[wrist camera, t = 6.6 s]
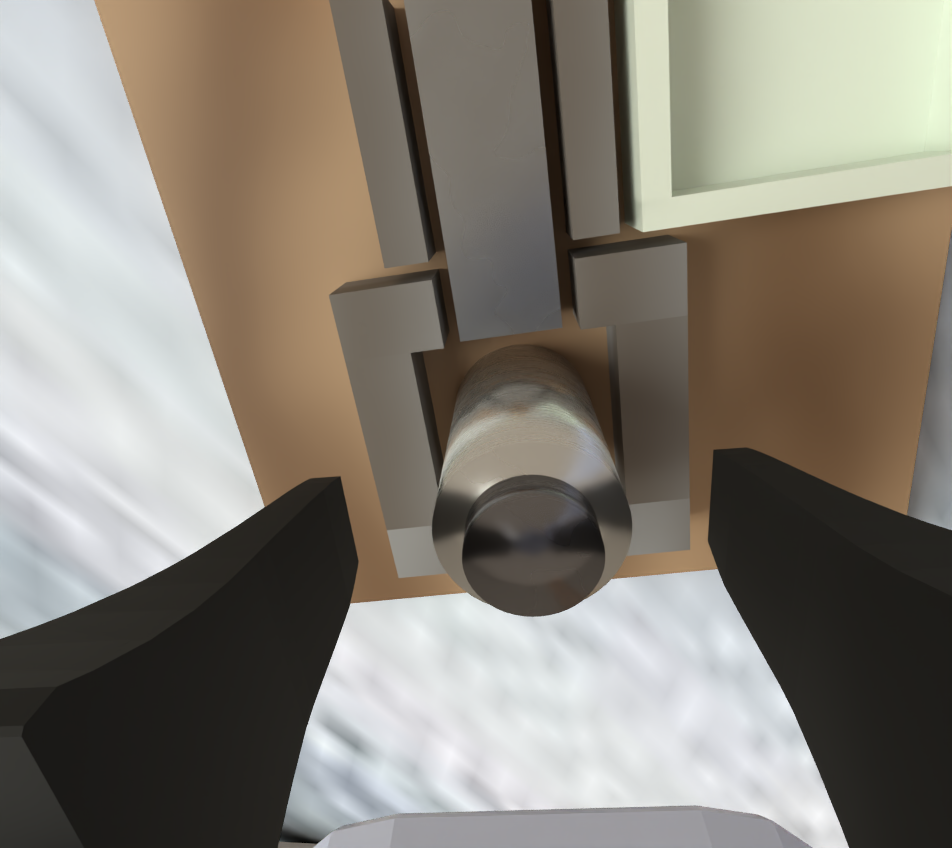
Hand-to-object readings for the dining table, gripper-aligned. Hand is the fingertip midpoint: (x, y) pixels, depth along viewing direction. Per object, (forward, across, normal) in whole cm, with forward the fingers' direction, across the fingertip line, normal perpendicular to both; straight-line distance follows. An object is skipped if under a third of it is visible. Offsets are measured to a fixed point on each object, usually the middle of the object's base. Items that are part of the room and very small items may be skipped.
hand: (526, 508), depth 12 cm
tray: (+6, -6, -8) cm, 12 cm away
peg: (+5, 0, 0) cm, 5 cm away
